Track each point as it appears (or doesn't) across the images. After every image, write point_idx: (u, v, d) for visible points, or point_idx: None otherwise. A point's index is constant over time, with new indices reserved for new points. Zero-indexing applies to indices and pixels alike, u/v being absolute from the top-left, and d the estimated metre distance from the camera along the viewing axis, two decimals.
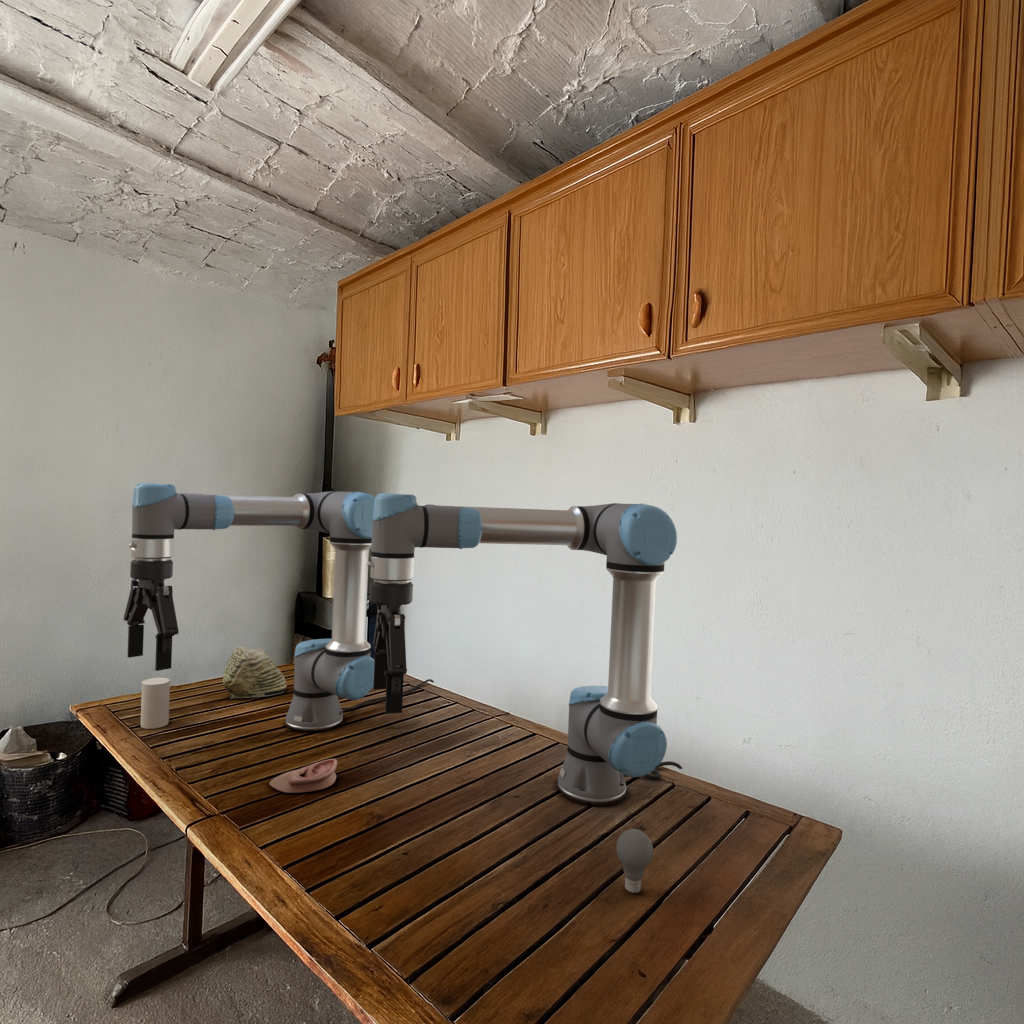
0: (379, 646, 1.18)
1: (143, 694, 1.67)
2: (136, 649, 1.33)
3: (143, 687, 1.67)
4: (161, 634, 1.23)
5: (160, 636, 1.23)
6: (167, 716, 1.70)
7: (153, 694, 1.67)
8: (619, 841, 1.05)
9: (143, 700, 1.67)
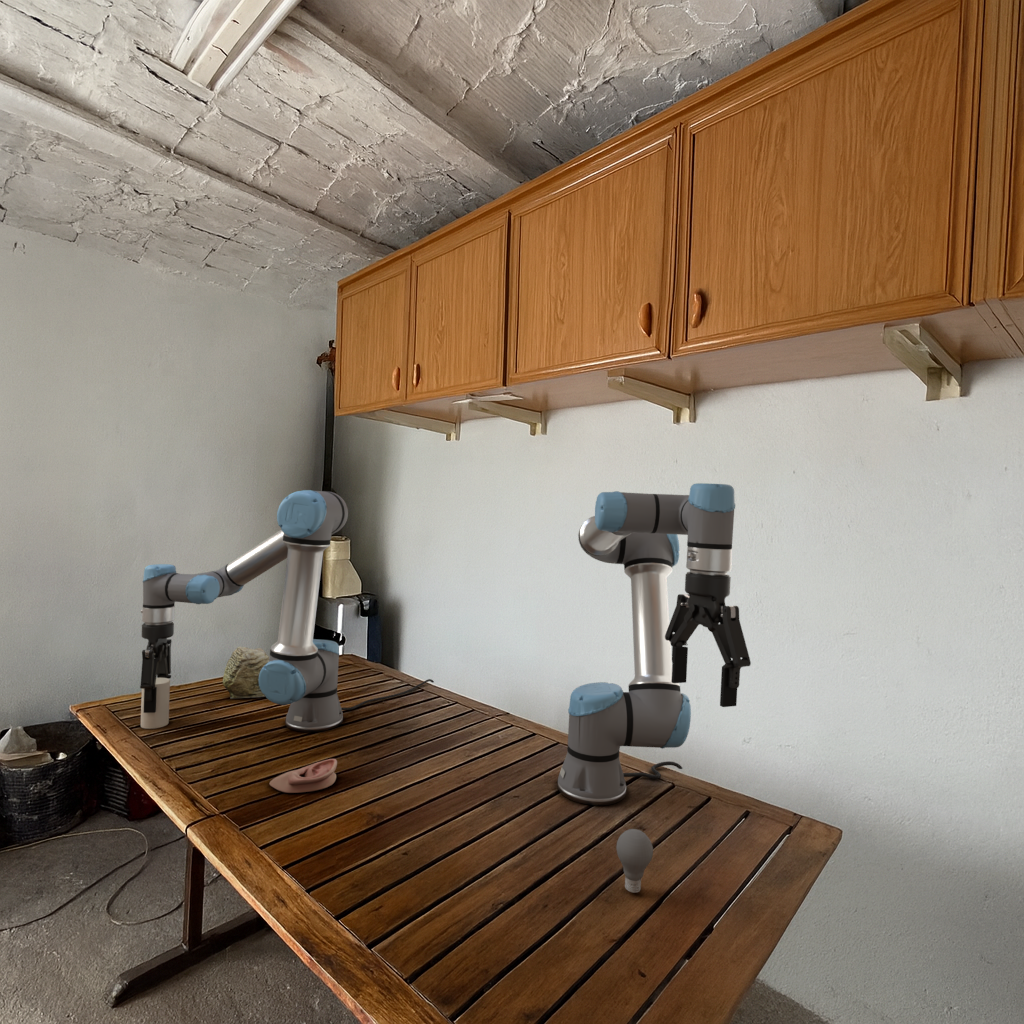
0: (680, 639, 1.16)
1: (143, 694, 1.67)
2: None
3: None
4: None
5: (142, 688, 1.65)
6: (167, 716, 1.70)
7: None
8: (619, 841, 1.05)
9: (143, 700, 1.67)
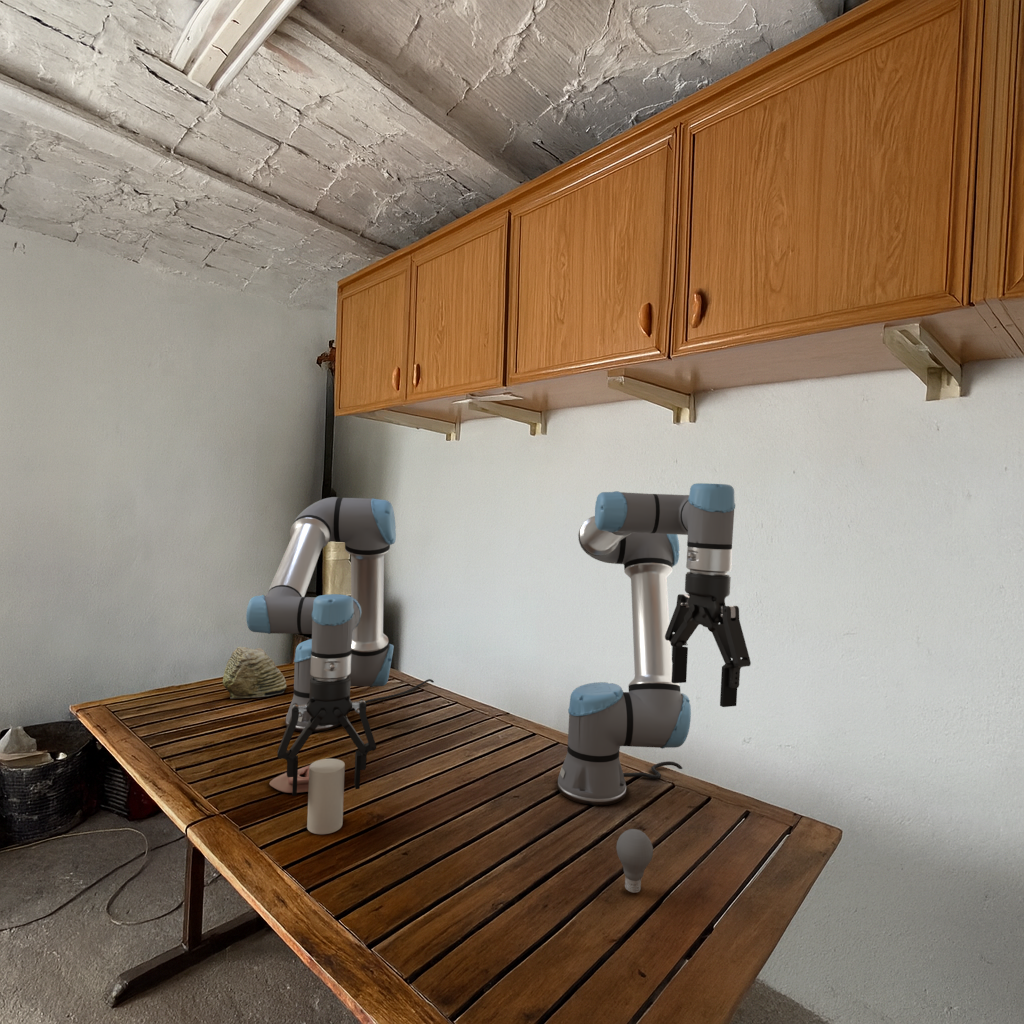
0: (680, 639, 1.16)
1: (340, 783, 1.21)
2: None
3: (340, 774, 1.21)
4: (366, 751, 1.23)
5: None
6: None
7: None
8: (619, 841, 1.05)
9: (340, 791, 1.21)
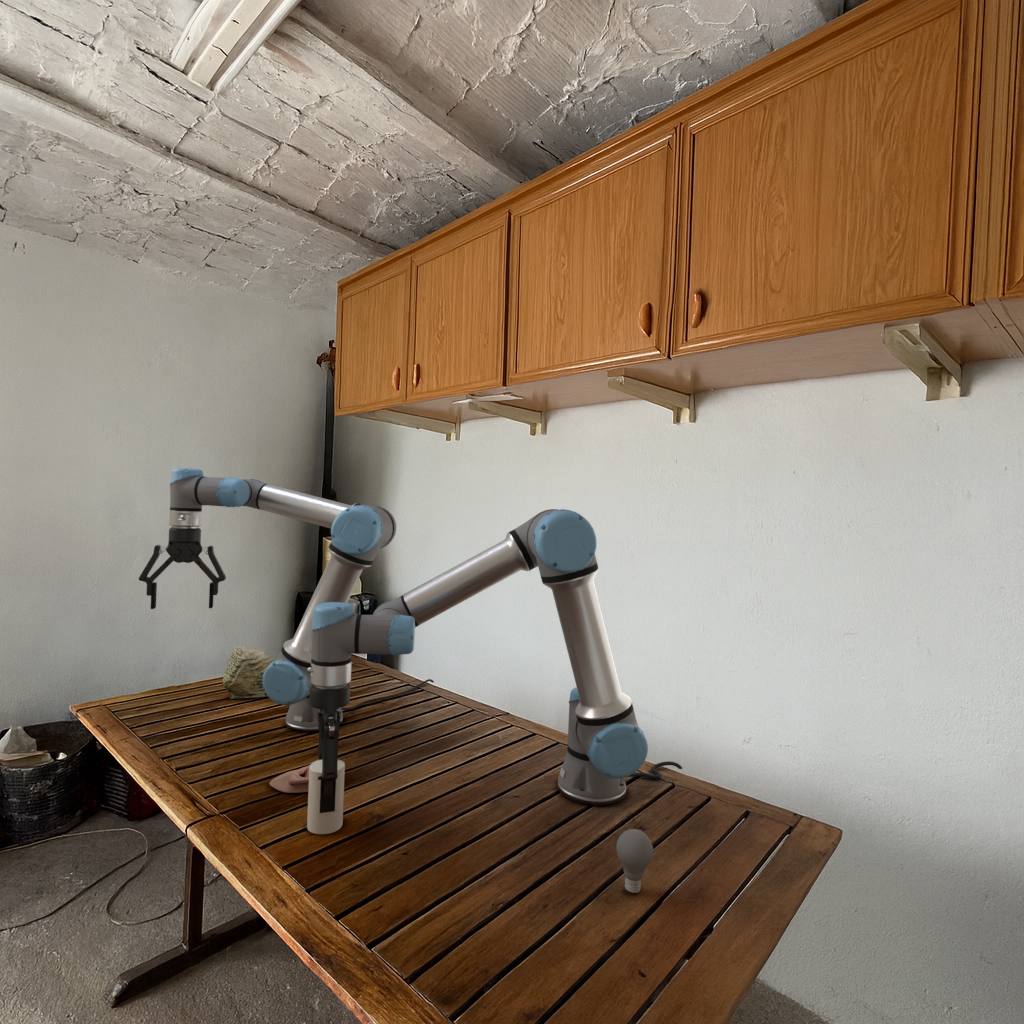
0: None
1: (340, 783, 1.21)
2: (155, 602, 1.64)
3: (340, 774, 1.21)
4: (217, 580, 1.68)
5: (217, 582, 1.68)
6: None
7: None
8: (619, 841, 1.05)
9: (340, 791, 1.21)
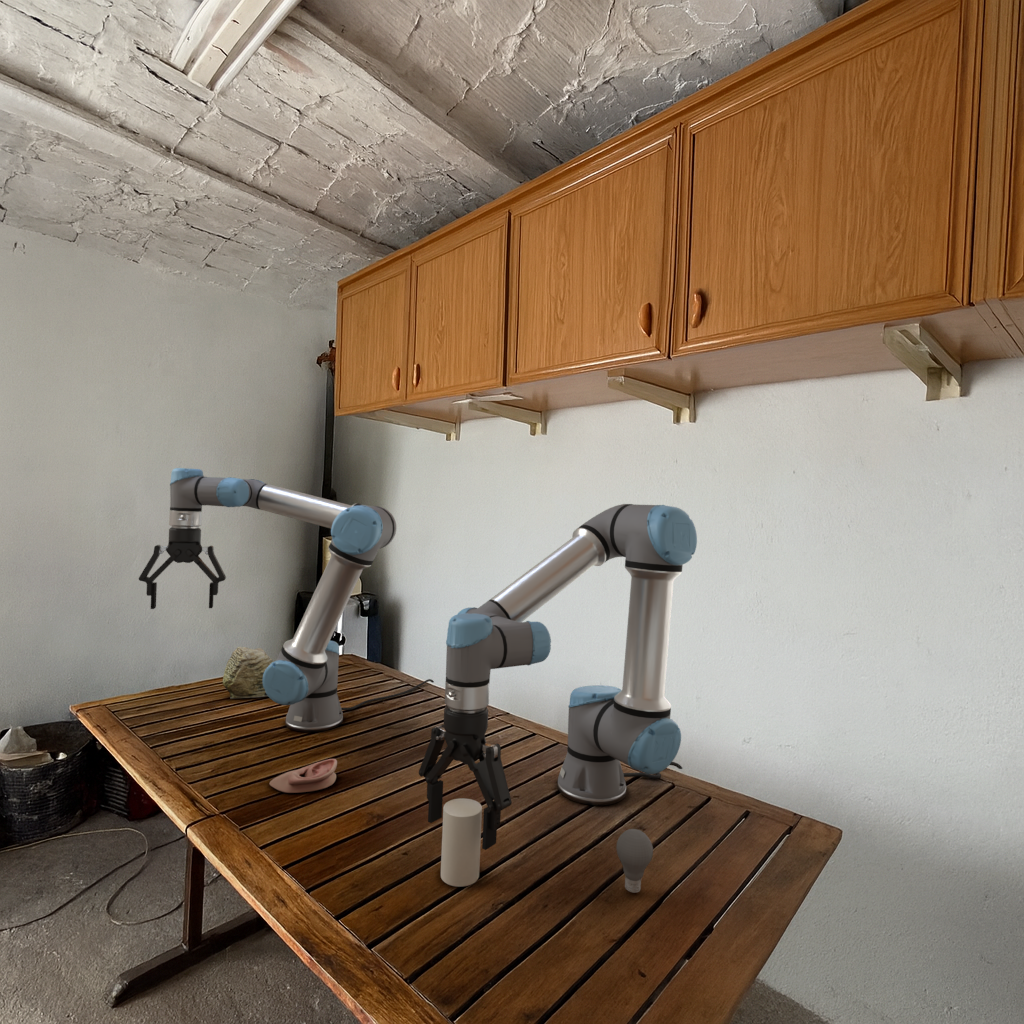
0: (436, 775, 1.11)
1: None
2: (155, 602, 1.64)
3: None
4: (217, 580, 1.68)
5: (217, 582, 1.68)
6: None
7: None
8: (619, 841, 1.05)
9: None
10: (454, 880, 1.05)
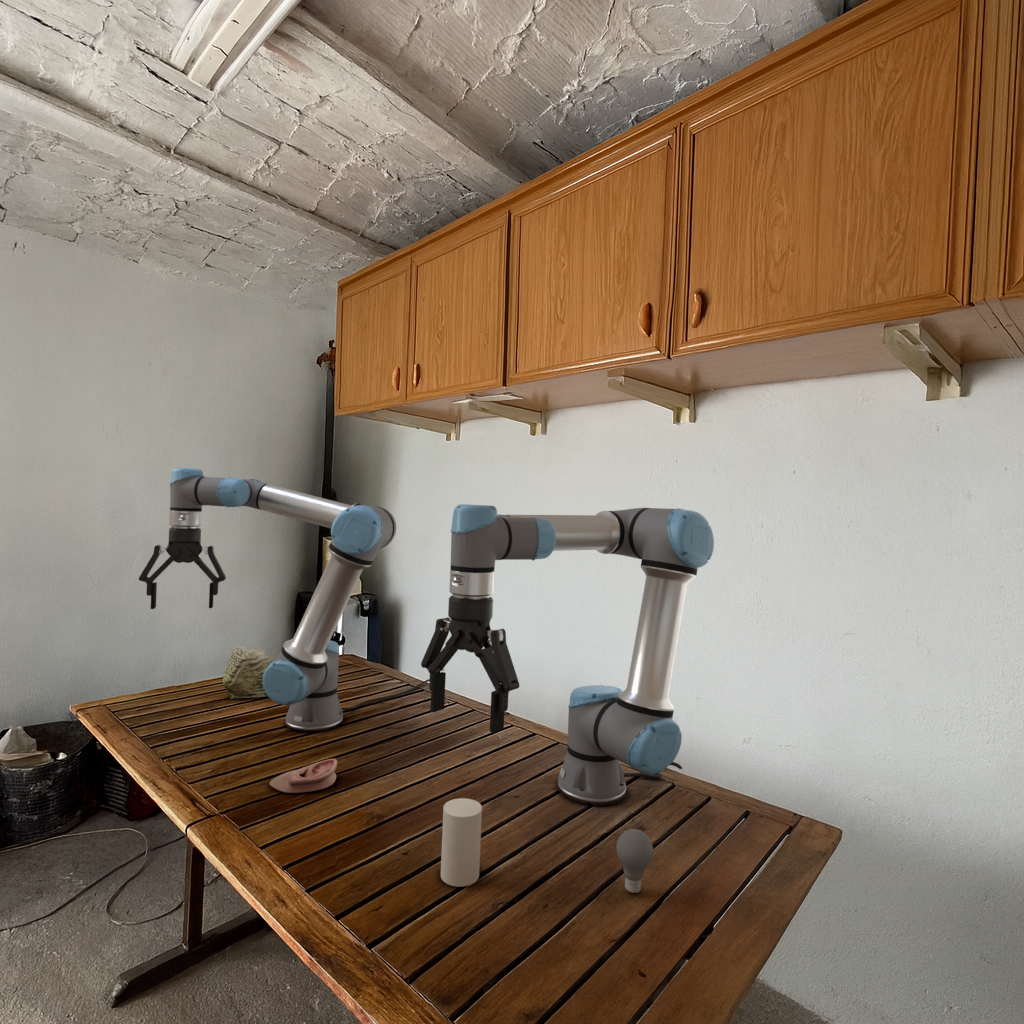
0: (439, 665, 1.11)
1: None
2: (155, 602, 1.64)
3: None
4: (217, 580, 1.68)
5: (217, 582, 1.68)
6: None
7: None
8: (619, 841, 1.05)
9: None
10: (454, 880, 1.05)
